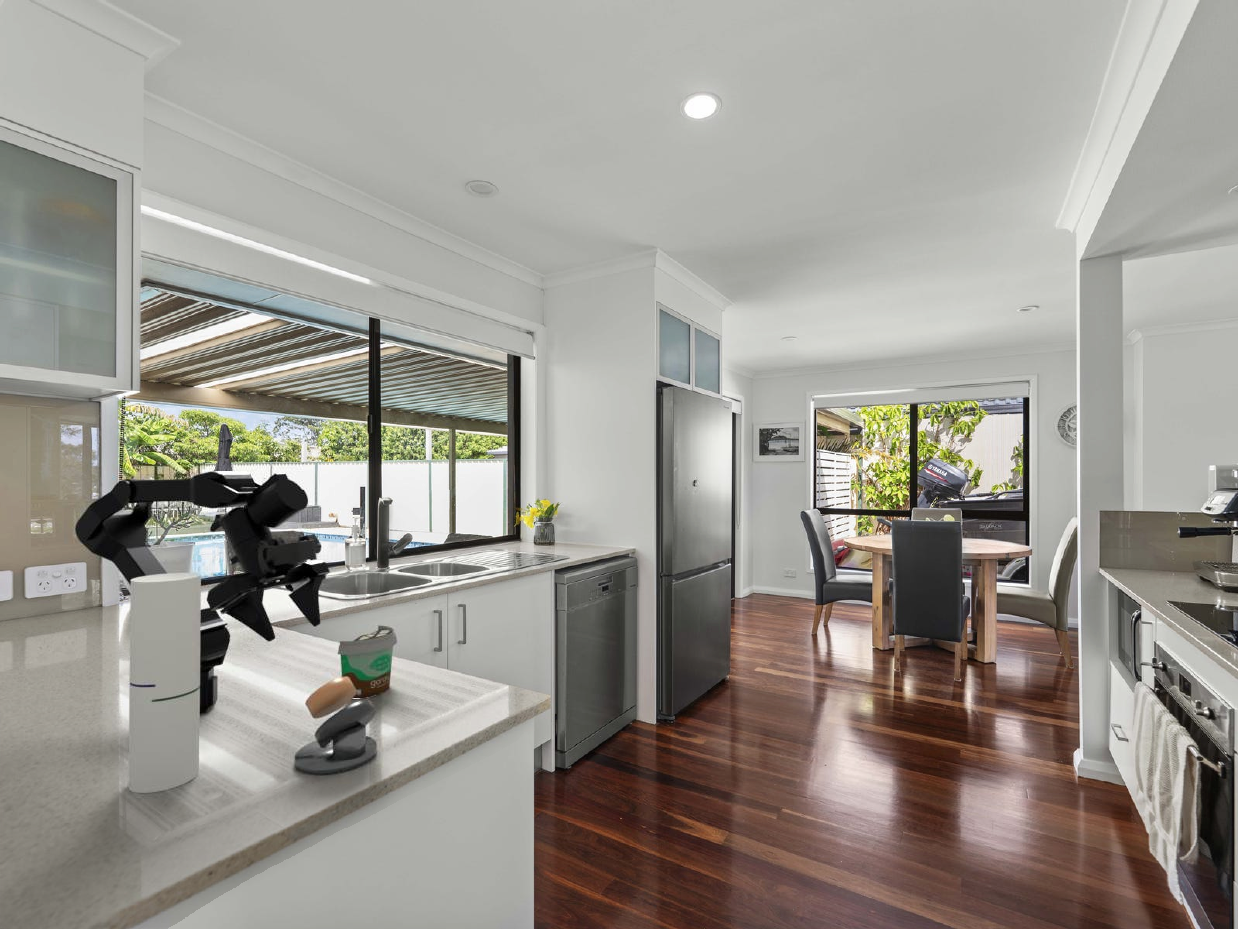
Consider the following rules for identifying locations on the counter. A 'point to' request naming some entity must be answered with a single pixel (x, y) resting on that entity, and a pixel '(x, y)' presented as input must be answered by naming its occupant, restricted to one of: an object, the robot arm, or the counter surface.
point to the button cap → (330, 697)
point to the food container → (369, 661)
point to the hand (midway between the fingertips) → (295, 632)
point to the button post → (340, 742)
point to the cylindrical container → (164, 681)
